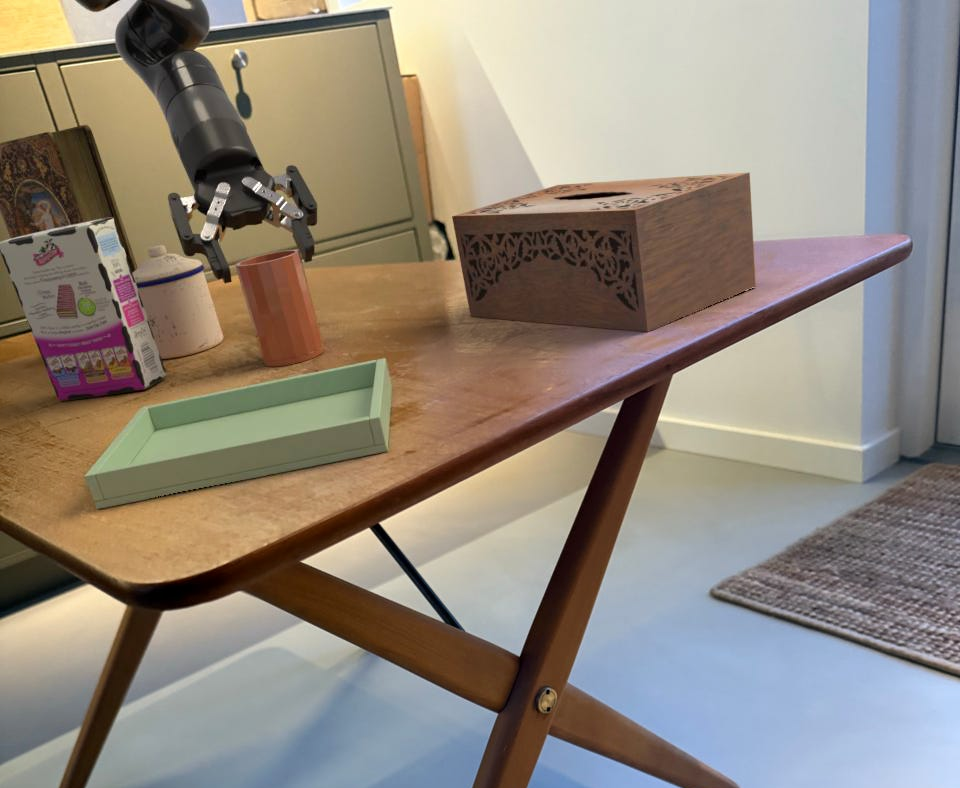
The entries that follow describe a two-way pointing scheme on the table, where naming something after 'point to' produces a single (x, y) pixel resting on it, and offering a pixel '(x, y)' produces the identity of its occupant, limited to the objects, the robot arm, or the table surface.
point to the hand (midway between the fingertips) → (268, 267)
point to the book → (56, 184)
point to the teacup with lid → (177, 303)
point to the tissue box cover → (610, 251)
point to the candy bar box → (84, 309)
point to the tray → (246, 434)
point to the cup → (280, 307)
